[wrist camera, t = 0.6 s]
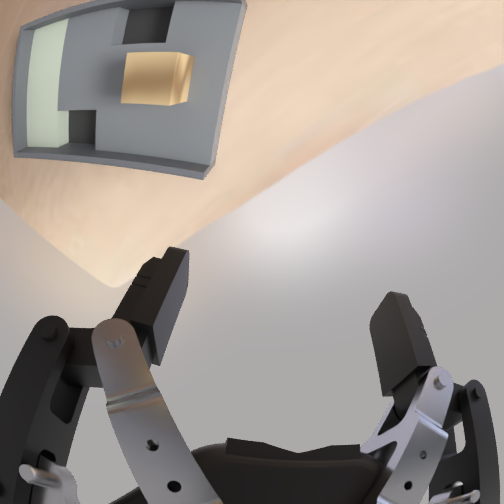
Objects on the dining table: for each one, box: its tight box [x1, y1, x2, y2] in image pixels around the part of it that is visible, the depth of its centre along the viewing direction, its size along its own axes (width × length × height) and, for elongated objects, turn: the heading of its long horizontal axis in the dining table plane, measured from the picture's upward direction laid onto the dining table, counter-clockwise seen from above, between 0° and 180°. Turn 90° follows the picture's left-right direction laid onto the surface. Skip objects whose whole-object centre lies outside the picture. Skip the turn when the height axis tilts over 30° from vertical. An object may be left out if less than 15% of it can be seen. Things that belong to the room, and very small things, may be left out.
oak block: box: [121, 52, 195, 106], centre depth 21 cm, size 5×5×5 cm
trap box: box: [12, 0, 247, 180], centre depth 23 cm, size 20×30×6 cm, turn 79°
